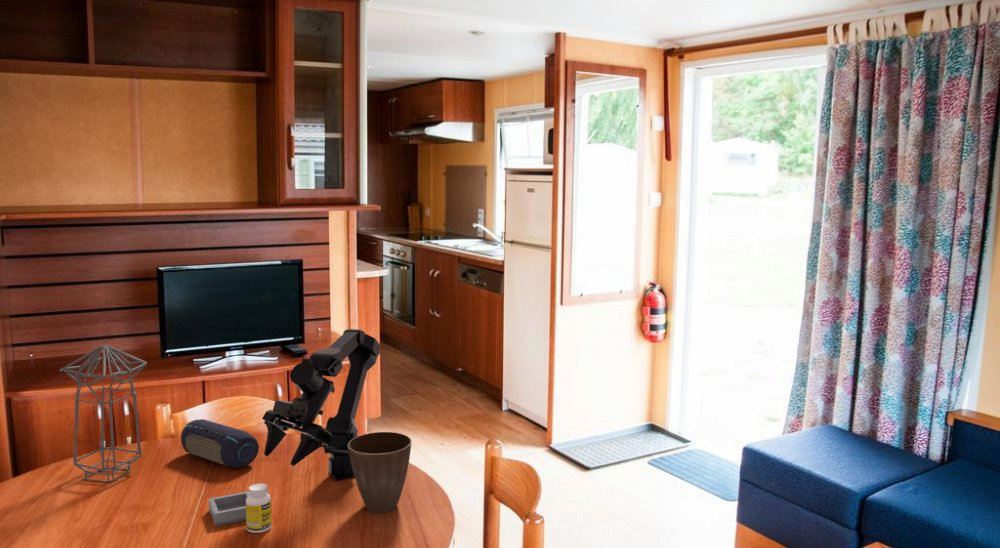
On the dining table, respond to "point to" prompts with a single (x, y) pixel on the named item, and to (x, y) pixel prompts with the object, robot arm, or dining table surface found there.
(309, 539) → the dining table surface
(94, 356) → the geometric lantern
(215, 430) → the portable speaker
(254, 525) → the supplement bottle
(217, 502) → the can holder
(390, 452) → the plant pot
